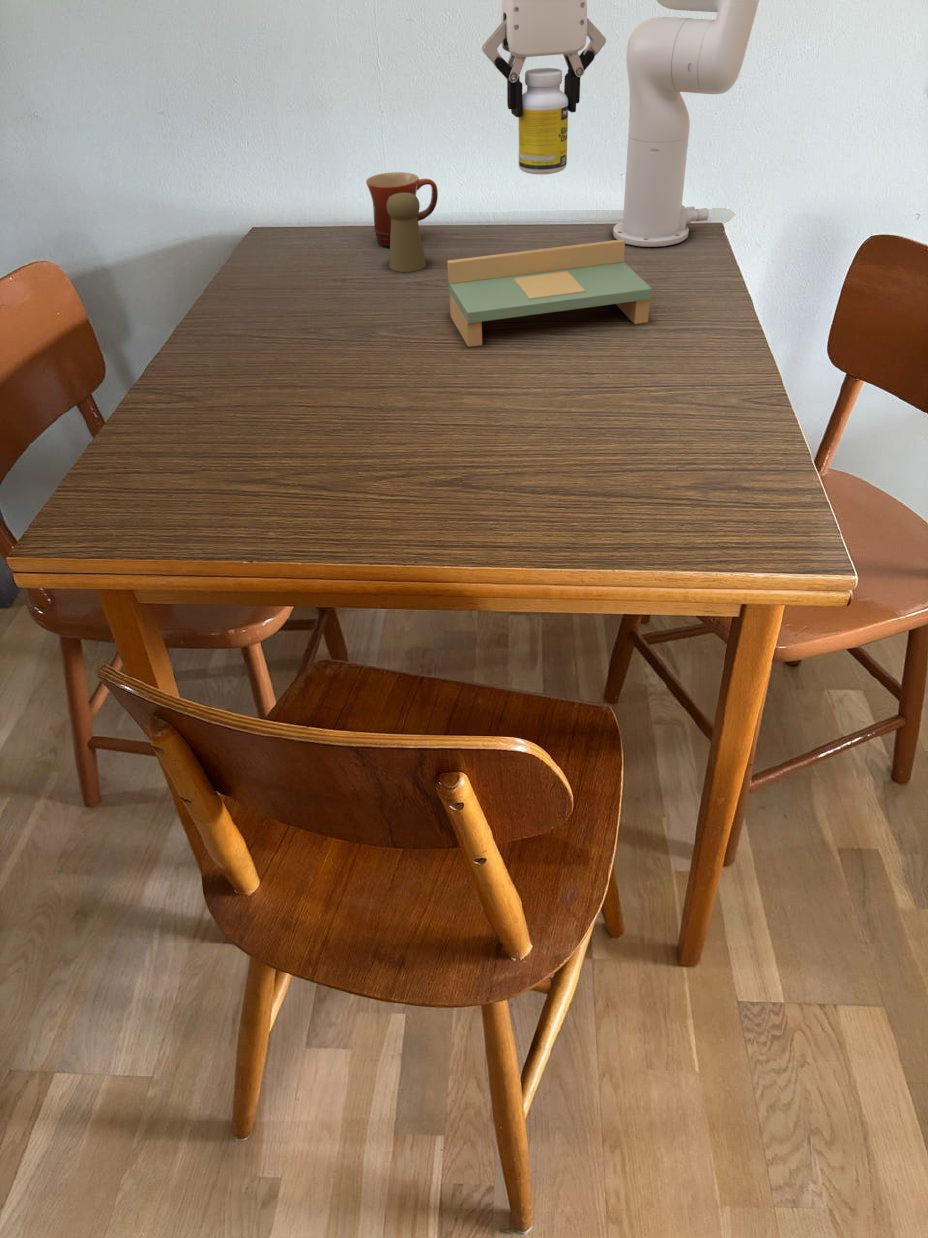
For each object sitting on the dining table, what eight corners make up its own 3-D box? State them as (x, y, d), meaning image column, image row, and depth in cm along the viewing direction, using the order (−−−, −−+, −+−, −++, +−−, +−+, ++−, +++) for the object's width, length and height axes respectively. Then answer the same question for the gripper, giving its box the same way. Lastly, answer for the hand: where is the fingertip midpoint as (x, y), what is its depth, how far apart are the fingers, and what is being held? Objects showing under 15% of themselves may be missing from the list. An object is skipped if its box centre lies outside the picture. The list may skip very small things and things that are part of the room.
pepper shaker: (421, 272, 153) (416, 200, 146) (385, 271, 154) (378, 199, 147) (430, 259, 158) (425, 188, 151) (394, 258, 159) (388, 188, 152)
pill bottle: (558, 177, 125) (560, 76, 118) (511, 174, 127) (511, 75, 120) (572, 164, 130) (575, 66, 122) (527, 161, 132) (527, 65, 124)
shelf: (619, 293, 143) (622, 238, 138) (649, 323, 134) (654, 266, 129) (450, 315, 139) (447, 260, 134) (468, 348, 130) (466, 290, 125)
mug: (379, 253, 161) (373, 189, 154) (366, 238, 167) (360, 175, 161) (447, 243, 164) (443, 179, 157) (432, 228, 170) (428, 167, 164)
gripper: (605, -63, 117) (598, 101, 128) (467, -54, 114) (471, 112, 126) (626, -59, 111) (616, 112, 122) (481, -50, 109) (484, 124, 120)
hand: (543, 111), depth 124 cm, fingers closed on pill bottle, 6 cm apart
